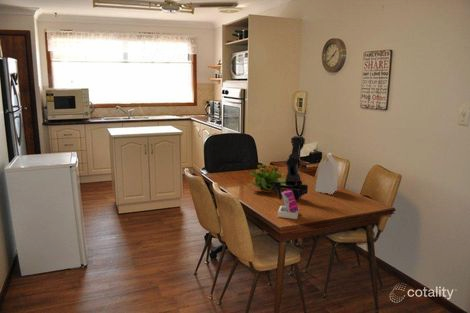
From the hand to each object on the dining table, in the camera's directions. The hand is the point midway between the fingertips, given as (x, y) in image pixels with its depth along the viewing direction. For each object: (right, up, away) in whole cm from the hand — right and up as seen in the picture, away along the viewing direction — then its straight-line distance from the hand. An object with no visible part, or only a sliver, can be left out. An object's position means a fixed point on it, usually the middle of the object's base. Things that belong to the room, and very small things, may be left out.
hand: (288, 200), depth 199 cm
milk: (+33, 0, +52) cm, 62 cm away
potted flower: (-8, +1, +48) cm, 49 cm away
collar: (0, -8, +3) cm, 8 cm away
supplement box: (+3, -6, +2) cm, 7 cm away
